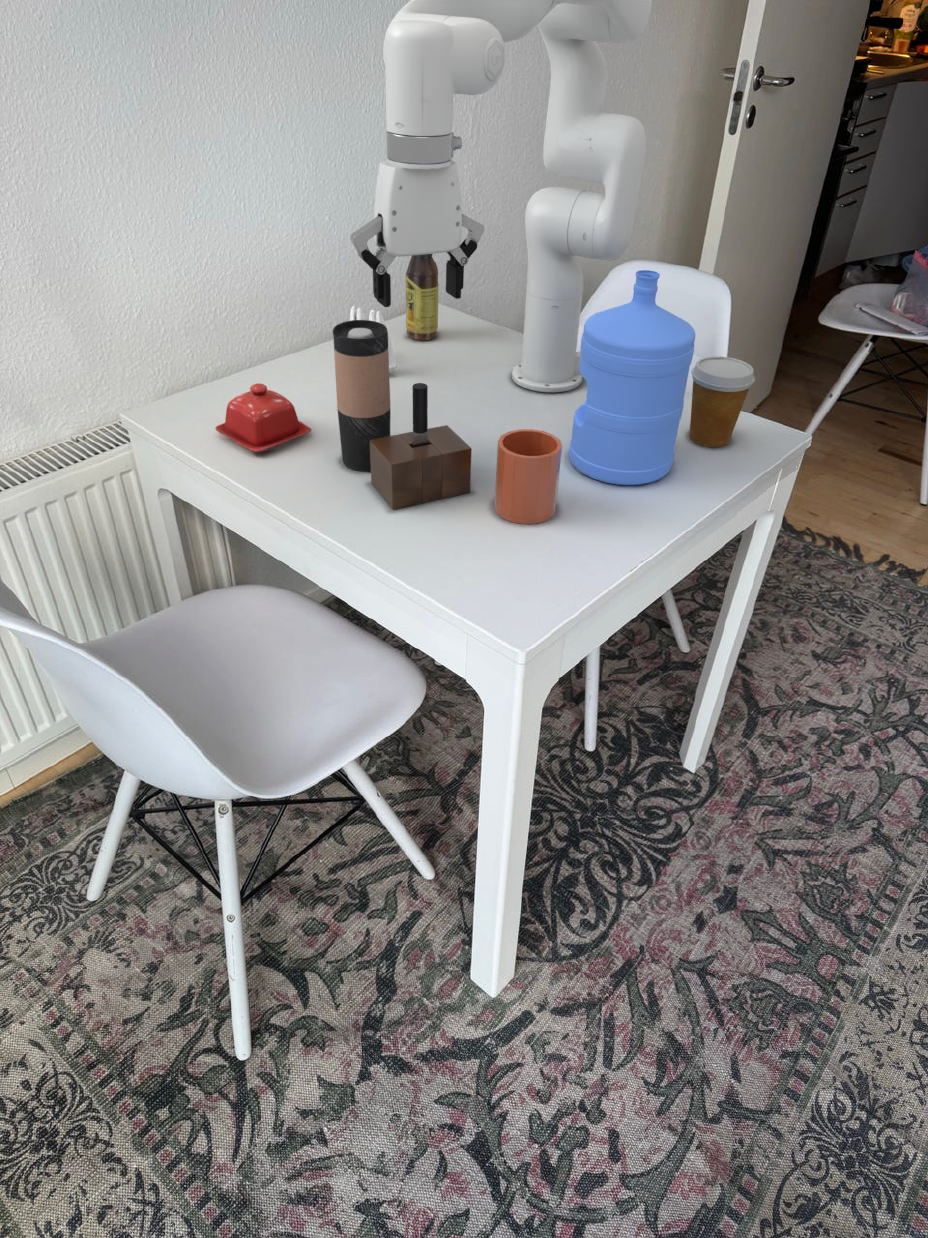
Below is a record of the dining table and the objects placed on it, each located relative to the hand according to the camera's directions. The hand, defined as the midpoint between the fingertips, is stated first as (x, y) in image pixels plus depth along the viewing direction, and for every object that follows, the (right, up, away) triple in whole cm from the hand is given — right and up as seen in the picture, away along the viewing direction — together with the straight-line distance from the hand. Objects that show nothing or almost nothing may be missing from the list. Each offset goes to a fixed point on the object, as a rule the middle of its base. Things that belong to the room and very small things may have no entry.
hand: (418, 299), depth 113 cm
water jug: (+29, -17, +23) cm, 41 cm away
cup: (+14, -25, +11) cm, 31 cm away
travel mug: (-9, -17, +21) cm, 28 cm away
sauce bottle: (-3, +15, +62) cm, 64 cm away
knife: (-1, -22, +15) cm, 26 cm away
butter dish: (-26, -12, +26) cm, 39 cm away
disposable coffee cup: (+45, -12, +30) cm, 55 cm away
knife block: (-1, -22, +15) cm, 26 cm away
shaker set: (-11, +5, +49) cm, 51 cm away
